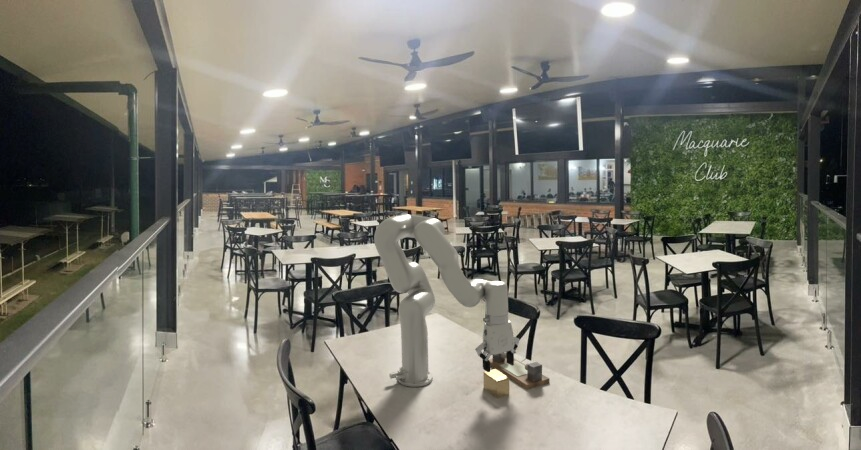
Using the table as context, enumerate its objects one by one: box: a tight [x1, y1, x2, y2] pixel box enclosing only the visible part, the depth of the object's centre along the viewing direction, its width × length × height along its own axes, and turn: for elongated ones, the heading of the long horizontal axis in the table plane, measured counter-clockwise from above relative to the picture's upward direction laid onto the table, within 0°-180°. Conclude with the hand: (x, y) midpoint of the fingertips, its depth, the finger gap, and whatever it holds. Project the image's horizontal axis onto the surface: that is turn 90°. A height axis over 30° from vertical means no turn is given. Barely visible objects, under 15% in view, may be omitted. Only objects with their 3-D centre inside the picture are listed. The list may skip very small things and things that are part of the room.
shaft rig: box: [488, 352, 550, 390], centre depth 174 cm, size 10×24×7 cm, turn 27°
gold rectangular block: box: [483, 368, 510, 399], centre depth 161 cm, size 5×8×6 cm, turn 27°
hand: (498, 367), depth 160 cm, fingers open, 9 cm apart
